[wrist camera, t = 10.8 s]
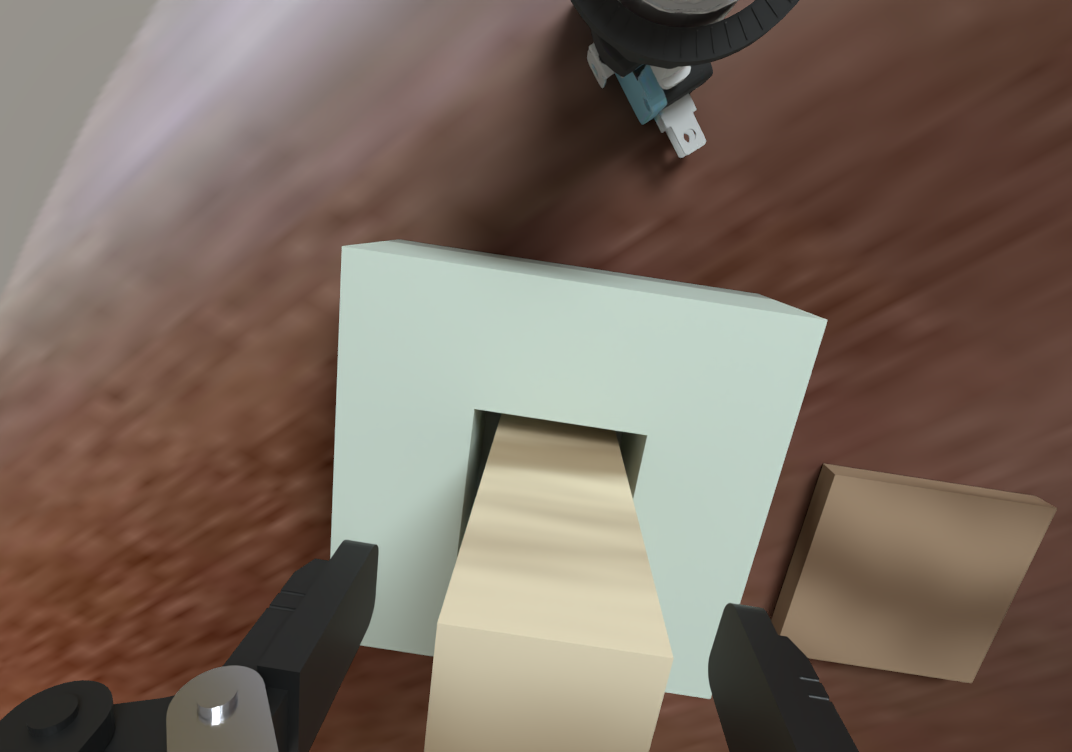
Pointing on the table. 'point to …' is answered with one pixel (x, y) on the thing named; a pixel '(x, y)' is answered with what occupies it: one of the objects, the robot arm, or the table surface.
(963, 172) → the table surface
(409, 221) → the table surface
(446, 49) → the table surface
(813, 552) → the coaster
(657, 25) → the push button
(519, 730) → the pin
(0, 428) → the table surface
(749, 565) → the socket block
